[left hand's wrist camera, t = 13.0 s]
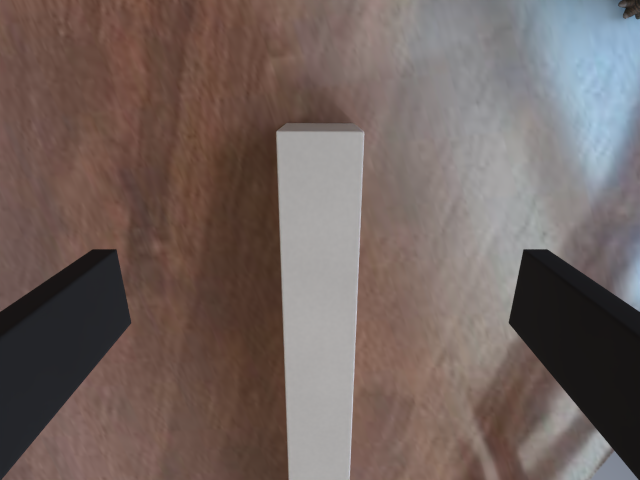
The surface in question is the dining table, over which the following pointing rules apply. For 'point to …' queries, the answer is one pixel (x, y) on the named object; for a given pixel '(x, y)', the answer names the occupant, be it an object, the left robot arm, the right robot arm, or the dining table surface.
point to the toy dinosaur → (630, 8)
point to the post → (319, 290)
